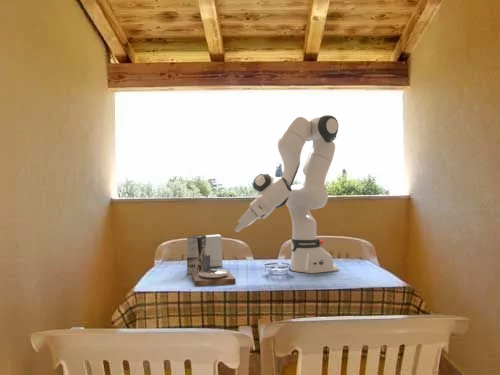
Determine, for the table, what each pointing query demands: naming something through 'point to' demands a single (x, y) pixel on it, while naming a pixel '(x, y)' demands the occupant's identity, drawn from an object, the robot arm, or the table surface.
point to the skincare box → (214, 249)
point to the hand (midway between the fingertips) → (235, 230)
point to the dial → (211, 270)
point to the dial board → (213, 280)
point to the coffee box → (195, 253)
